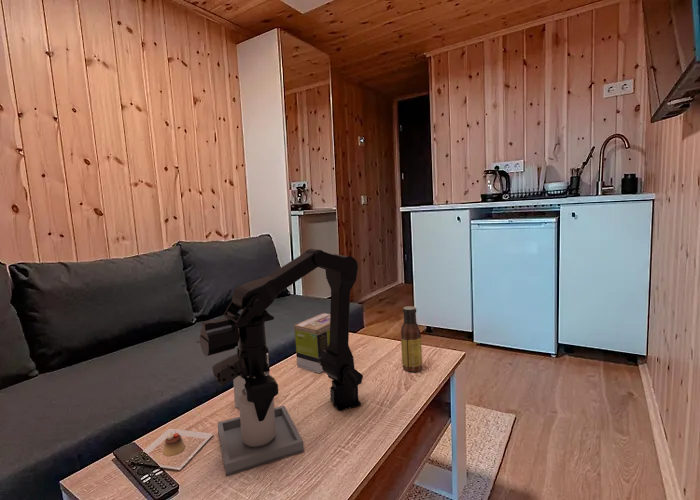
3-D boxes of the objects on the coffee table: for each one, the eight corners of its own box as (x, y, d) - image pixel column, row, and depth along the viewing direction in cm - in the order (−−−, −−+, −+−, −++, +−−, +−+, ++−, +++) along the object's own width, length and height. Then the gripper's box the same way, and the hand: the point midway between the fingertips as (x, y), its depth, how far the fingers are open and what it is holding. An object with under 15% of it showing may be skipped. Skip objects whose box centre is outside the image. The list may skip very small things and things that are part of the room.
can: (245, 430, 88) (242, 381, 86) (277, 427, 88) (275, 379, 87) (238, 451, 80) (234, 398, 79) (273, 448, 81) (270, 396, 79)
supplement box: (260, 410, 97) (257, 364, 95) (234, 408, 98) (230, 362, 97) (271, 396, 104) (269, 352, 103) (247, 394, 106) (244, 351, 104)
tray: (284, 414, 95) (284, 405, 94) (303, 451, 80) (303, 441, 80) (218, 432, 88) (217, 422, 88) (226, 476, 74) (225, 464, 73)
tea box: (325, 351, 134) (323, 311, 132) (347, 357, 128) (346, 316, 126) (295, 367, 122) (293, 323, 120) (319, 374, 116) (317, 329, 114)
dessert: (214, 438, 87) (212, 418, 86) (180, 474, 75) (178, 453, 75) (169, 432, 90) (167, 413, 89) (130, 467, 78) (127, 446, 77)
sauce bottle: (425, 366, 119) (424, 306, 117) (417, 374, 114) (417, 311, 112) (406, 362, 123) (405, 303, 120) (398, 370, 118) (397, 308, 115)
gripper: (210, 336, 86) (215, 399, 88) (217, 367, 70) (223, 444, 72) (258, 328, 91) (262, 388, 93) (276, 355, 74) (281, 428, 76)
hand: (257, 410), depth 83 cm, fingers open, 9 cm apart
